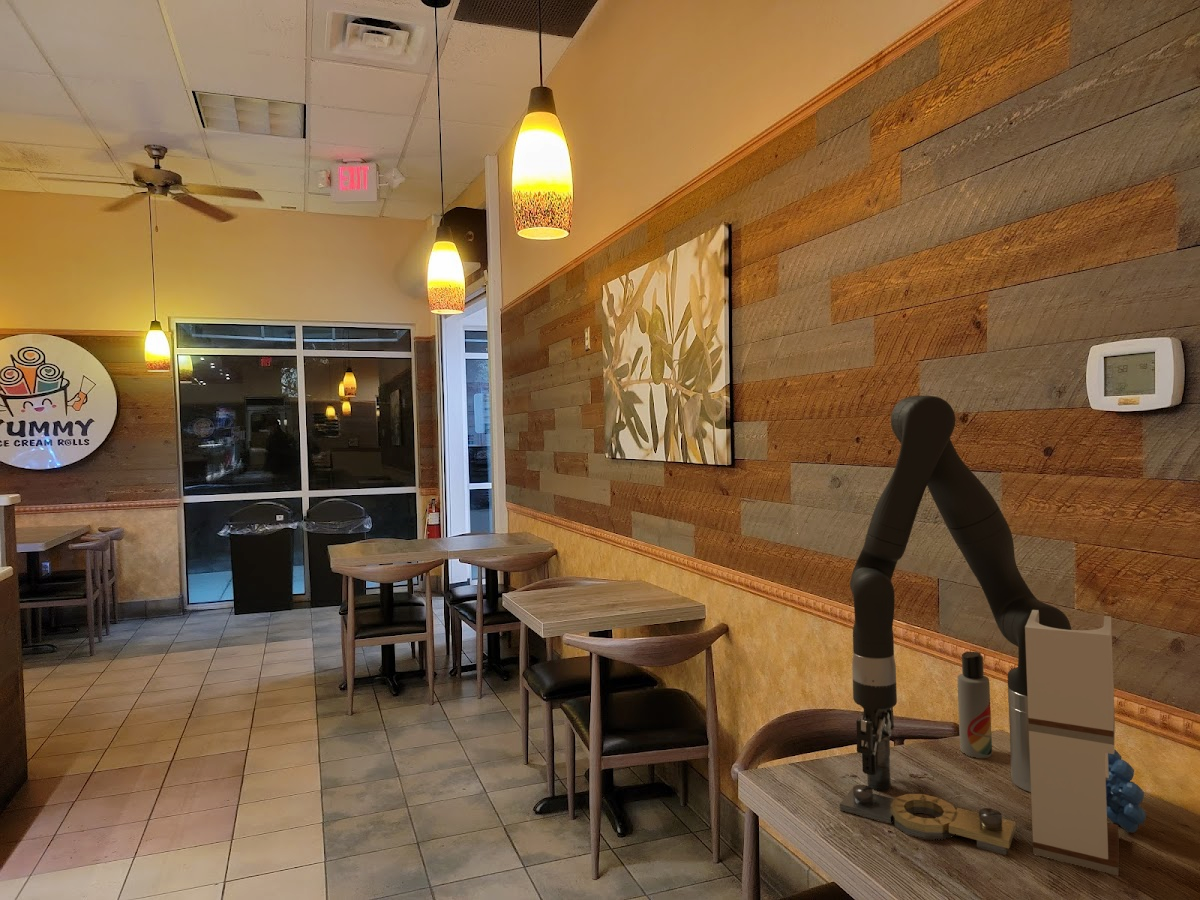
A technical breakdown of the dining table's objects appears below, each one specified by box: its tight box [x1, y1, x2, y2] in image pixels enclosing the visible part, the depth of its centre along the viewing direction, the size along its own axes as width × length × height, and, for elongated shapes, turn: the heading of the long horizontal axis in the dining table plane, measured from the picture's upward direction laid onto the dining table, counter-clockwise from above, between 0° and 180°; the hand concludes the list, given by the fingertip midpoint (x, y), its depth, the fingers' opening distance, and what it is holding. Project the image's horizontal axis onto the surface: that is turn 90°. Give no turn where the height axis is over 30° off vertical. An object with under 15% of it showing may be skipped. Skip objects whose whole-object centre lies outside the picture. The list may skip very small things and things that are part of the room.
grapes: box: [1106, 748, 1147, 834], centre depth 120 cm, size 12×7×12 cm, turn 178°
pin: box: [866, 734, 892, 792], centre depth 137 cm, size 4×4×9 cm
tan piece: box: [839, 784, 1017, 856], centre depth 124 cm, size 10×26×4 cm, turn 53°
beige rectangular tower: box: [1025, 610, 1120, 877], centre depth 115 cm, size 11×11×35 cm
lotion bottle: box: [956, 651, 993, 759], centre depth 148 cm, size 6×6×20 cm
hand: (876, 764), depth 137 cm, fingers open, 8 cm apart
